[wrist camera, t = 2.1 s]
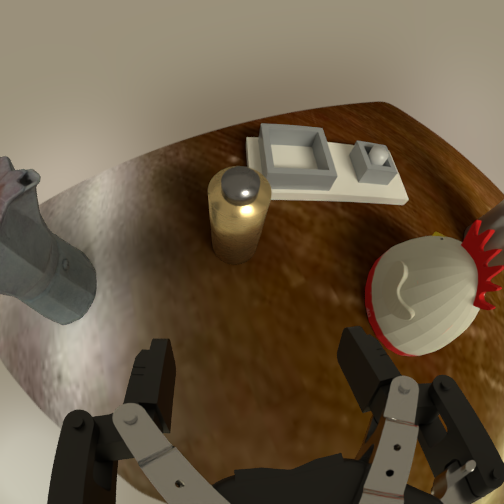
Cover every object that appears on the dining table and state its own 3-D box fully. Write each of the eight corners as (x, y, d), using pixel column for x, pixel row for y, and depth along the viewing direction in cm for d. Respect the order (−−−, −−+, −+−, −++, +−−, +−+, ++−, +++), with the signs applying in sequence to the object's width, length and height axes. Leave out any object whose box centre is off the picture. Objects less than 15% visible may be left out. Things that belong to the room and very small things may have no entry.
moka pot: (131, 302, 26) (2, 198, 7) (30, 349, 22) (-103, 311, 3) (108, 227, 29) (22, 94, 10) (16, 278, 25) (-90, 204, 6)
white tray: (384, 156, 37) (400, 134, 32) (403, 205, 34) (423, 184, 29) (245, 144, 35) (249, 114, 30) (249, 199, 32) (254, 170, 26)
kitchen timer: (436, 249, 32) (508, 197, 18) (451, 345, 27) (540, 322, 13) (356, 247, 31) (431, 174, 17) (369, 365, 26) (473, 357, 12)
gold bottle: (255, 223, 30) (270, 156, 20) (258, 263, 29) (277, 209, 18) (212, 224, 30) (207, 156, 20) (212, 265, 28) (206, 210, 18)
